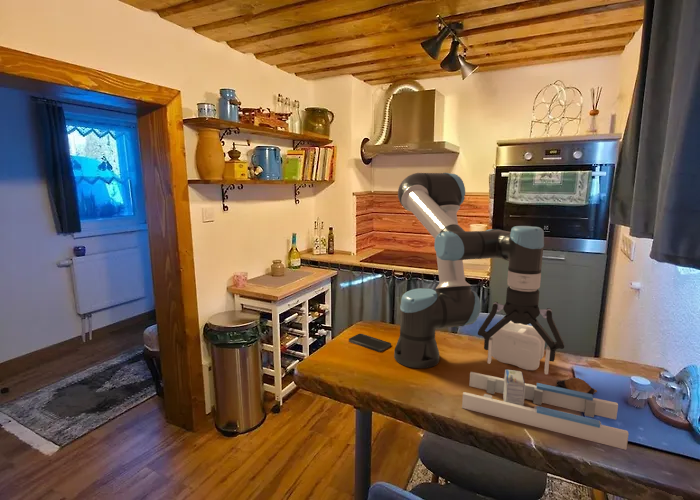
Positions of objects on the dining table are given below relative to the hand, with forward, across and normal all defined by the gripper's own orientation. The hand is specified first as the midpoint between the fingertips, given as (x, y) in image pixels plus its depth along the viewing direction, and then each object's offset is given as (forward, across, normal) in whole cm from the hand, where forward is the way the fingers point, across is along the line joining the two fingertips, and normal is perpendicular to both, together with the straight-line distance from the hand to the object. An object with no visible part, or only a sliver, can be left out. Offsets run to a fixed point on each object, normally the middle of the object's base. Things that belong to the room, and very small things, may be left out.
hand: (516, 366), depth 99 cm
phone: (+11, -50, +20) cm, 56 cm away
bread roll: (+12, +15, +18) cm, 27 cm away
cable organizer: (+12, 0, +29) cm, 32 cm away
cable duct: (+12, +6, 0) cm, 13 cm away
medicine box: (+12, 0, 0) cm, 12 cm away
